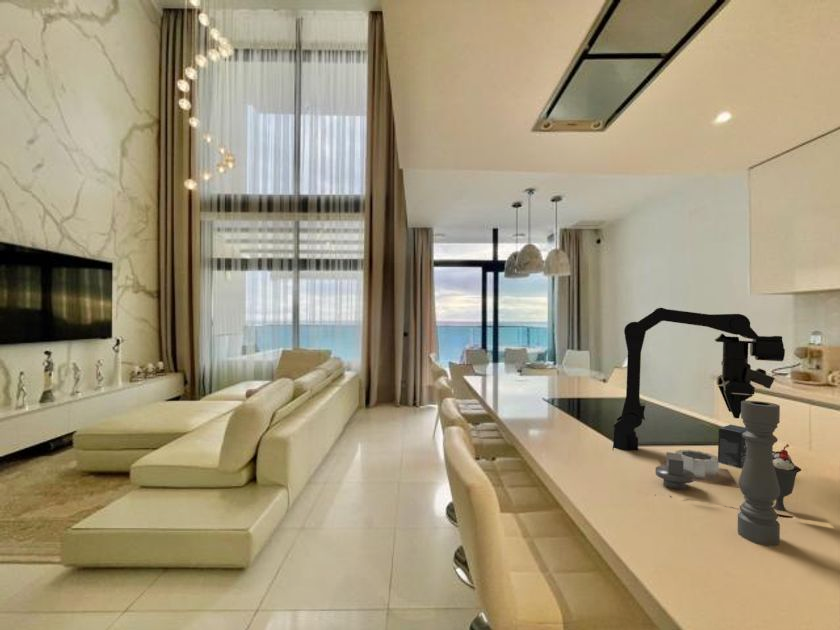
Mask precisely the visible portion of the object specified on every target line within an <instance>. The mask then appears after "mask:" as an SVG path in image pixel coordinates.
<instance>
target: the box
mask: <svg viewBox="0 0 840 630" xmlns="http://www.w3.org/2000/svg"><path fill="white" fill-rule="evenodd" d="M746 431H747V429H746V427H745V426H739V425H736V424H735V425H734V424H728V425H725V426H721V427H720V426H719V428H718V437H717V439H718V441H717V442H718V443H717V458H718V459H719V464H720V463H721V464H724V465H727V466H730V467H734V468H738V469H741V468H742V469H743V466H744V462H745V459H746V448H747V441H746V440H745V438H743V436H742V433H744V432H746Z"/></svg>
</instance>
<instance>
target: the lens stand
mask: <svg viewBox="0 0 840 630" xmlns="http://www.w3.org/2000/svg"><path fill="white" fill-rule="evenodd" d="M659 466H666V460H663V459H662V460H661V459H659ZM693 482H699V483H705V484H711V485H717V486H718V485H719V486H722V487H723V486H724V487H731V488H737V489H740V488H739V483H737V481H736V479H735V478H734V477H733V475H732V474H731V472H730V471H729V469H725V468H720V467H719V468H718V478H716V479H699V478H694V481H693Z"/></svg>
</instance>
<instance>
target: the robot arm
mask: <svg viewBox="0 0 840 630" xmlns="http://www.w3.org/2000/svg"><path fill="white" fill-rule="evenodd" d="M661 322H671V323H678V324H683V325H685V324H686V325H693V326H699V327H706V328H709V329H713V330H716V331H720V332H724V333H726V334H727V333H728V334H731V335H736V336H728V335H727V336H726V334H724V333H720V334H719V336H718V337H716V338H715V339H714V341H715V342H716V343H722V361H721V367H722V369H721V373H722V374H720V375H719V376H717V378H716V379H717V380H716V384H717V387H718V389H719V391H720V394H721V396H722V399H723V401H724V403H725V405H726V407H727V411H728V412H729V413H731V415H732V416H733V418H734V419H740V418H741V401H747V400H748V399H749V398H752V397H753V395H755V389H756V388H755V386H754V385H752V384H751V382H752V383H755V384H758V385H760V386H762V387H764V388H765V389H771V387H772V386H773V384H774V381H775V379H776V378H775V377H774V376H770V375H768V374H767V371H766V370H765V369H763V368H756V369H752V367H751V364H750V363H749V355H750V357H754V359H755V360H756V361H768V362H784V359H785V356H786V355H785V353H786V349H785V348H784V347H785V346H784V341H783V336H781V335H771V336H769V335H767V336H765V335H758V333H757V332H755V331H754V329H753V328H752V327H751V321H750V318H748V317H747V316H746V315H744V314H740V313H721V314H719V313H718V314H715V313H714V314H707V313H701V312H693V311H683V310H676V309H668V308H665V307H657V308H656V309H655V310H654V311H652V312H651V313H649V314H647V315H646V316H644V317H643V318H642V319H640V320H639V321H631V322H629V323H627V324H626V325H625V326H624V330H623V332H624V340H625V344H626V349H627V360H626V361H627V369H626V395H625V399H624V403H623V404H624V405H623V408H622V412H621V415H619V416H618V418H616V419H615V421H614V423H613V435H612V436H613V441H612V442H613V445H612V450H614V449H618V450H622V451H626V452H628V451H629V452H630V451H631V452H632V451H637V452H638V451H639V436H638V435H637V430H636V429H637V428H639V427H641V425H642V423H643V420H644V421H645V420H646V413H645V409H646V402H641V397H640V394H641V391H640V389H641V365H642V364H641V359H642V350H643V346H644V341H645V338H646V333H647V331H649V330H650V329H652V328H653V327H655V326H657V325H659V324H660V323H661ZM737 335H738V336H737ZM739 336H740V337H742V338H744V339H750V340H740V338H739Z"/></svg>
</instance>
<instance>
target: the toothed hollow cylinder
mask: <svg viewBox="0 0 840 630" xmlns="http://www.w3.org/2000/svg"><path fill="white" fill-rule="evenodd" d="M675 453H678V454H681V456H682V459H683V461H684V463H683V469H686V470H689V471H691V472H692V473H694V478H699V479H716V478H718V468H720V467H719V464H720V463H719V459H718V456H715V455H713V454H712V453H709V452H704V451H700V450H693V449H679V450H675Z"/></svg>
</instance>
